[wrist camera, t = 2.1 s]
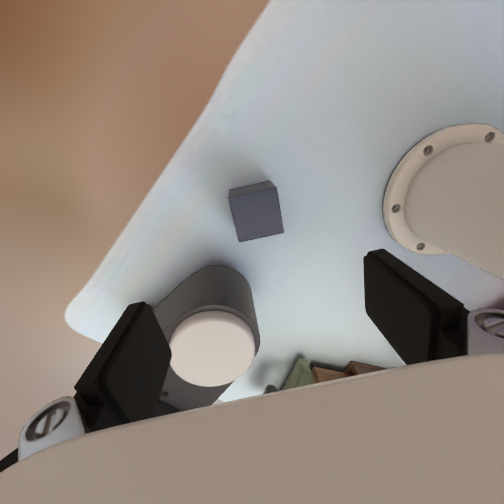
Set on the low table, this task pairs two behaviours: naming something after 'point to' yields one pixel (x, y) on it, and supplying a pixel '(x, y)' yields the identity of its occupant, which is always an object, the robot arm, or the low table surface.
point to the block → (256, 211)
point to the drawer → (307, 376)
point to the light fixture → (206, 337)
